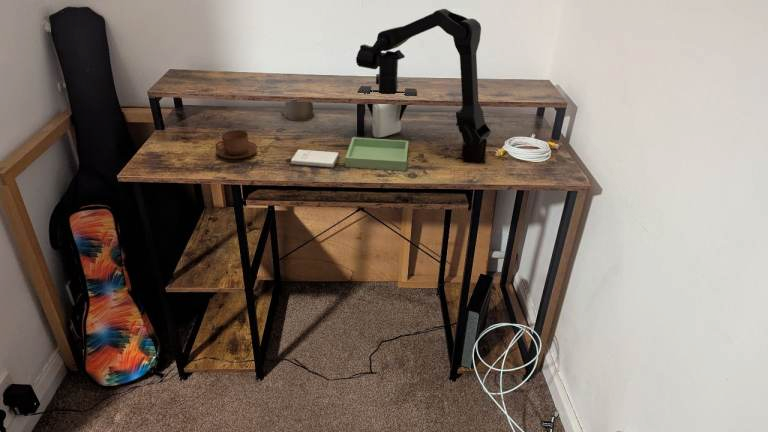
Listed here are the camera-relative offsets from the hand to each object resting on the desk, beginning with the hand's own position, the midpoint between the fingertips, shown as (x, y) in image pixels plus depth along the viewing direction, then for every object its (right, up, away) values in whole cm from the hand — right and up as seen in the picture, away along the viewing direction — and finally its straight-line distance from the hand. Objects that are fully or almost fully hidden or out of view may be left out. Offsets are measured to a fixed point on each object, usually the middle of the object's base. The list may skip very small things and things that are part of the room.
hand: (386, 119), depth 168 cm
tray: (-3, -14, -13) cm, 19 cm away
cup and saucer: (-45, -13, -14) cm, 49 cm away
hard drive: (-21, -15, -16) cm, 30 cm away
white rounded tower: (0, -4, +3) cm, 5 cm away
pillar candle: (-31, +4, +16) cm, 35 cm away
